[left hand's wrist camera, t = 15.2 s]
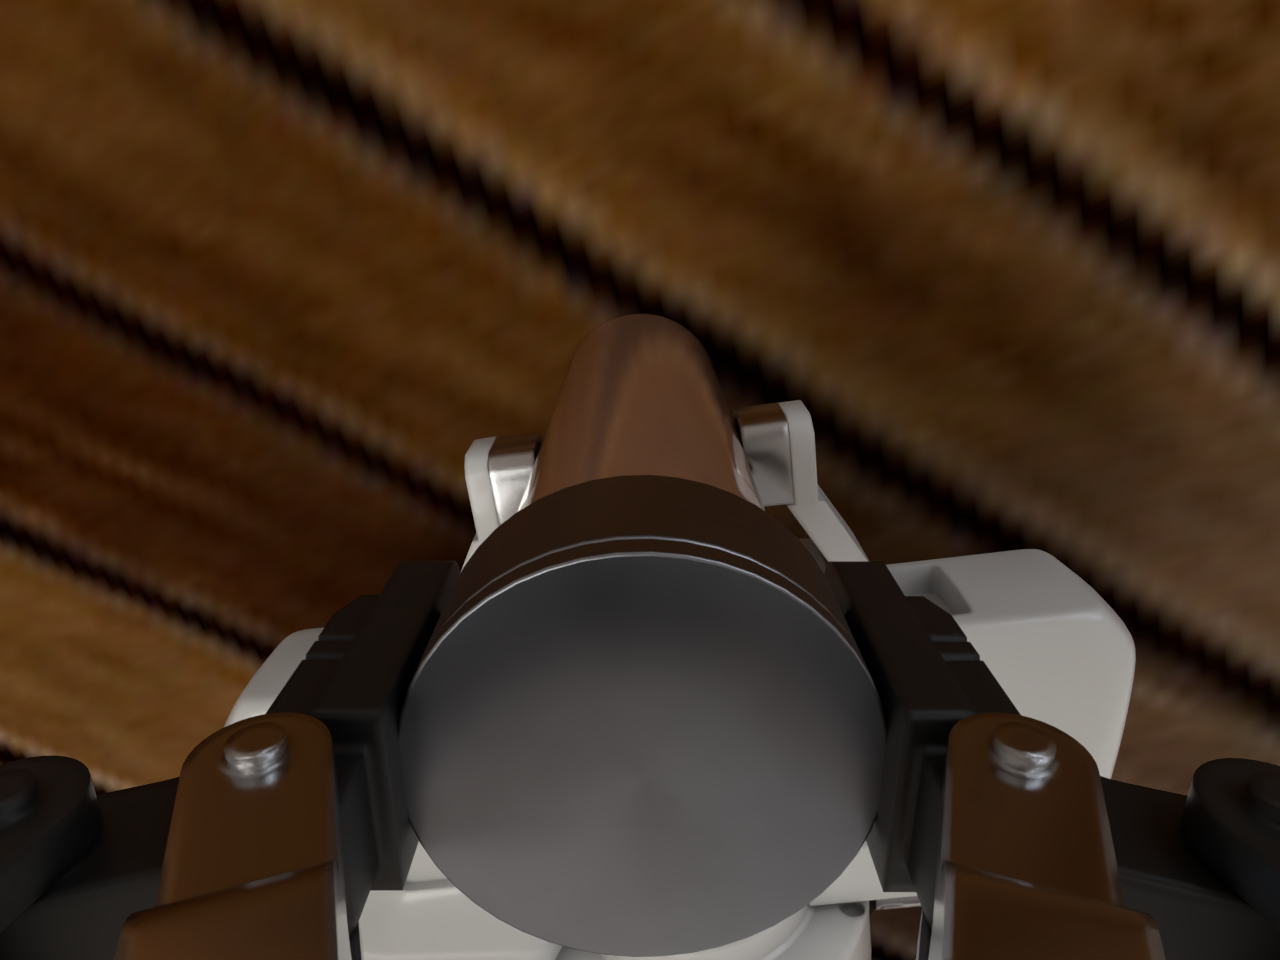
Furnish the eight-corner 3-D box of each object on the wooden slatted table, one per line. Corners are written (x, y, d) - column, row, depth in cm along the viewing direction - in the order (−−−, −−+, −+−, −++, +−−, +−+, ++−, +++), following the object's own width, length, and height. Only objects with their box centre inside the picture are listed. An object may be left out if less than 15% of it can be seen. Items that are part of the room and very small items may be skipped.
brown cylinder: (744, 405, 24) (910, 785, 9) (624, 485, 25) (600, 951, 10) (658, 282, 23) (694, 493, 8) (536, 371, 24) (363, 710, 9)
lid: (915, 699, 11) (979, 821, 9) (600, 875, 12) (592, 1022, 10) (694, 388, 10) (709, 448, 8) (357, 619, 11) (288, 727, 9)
